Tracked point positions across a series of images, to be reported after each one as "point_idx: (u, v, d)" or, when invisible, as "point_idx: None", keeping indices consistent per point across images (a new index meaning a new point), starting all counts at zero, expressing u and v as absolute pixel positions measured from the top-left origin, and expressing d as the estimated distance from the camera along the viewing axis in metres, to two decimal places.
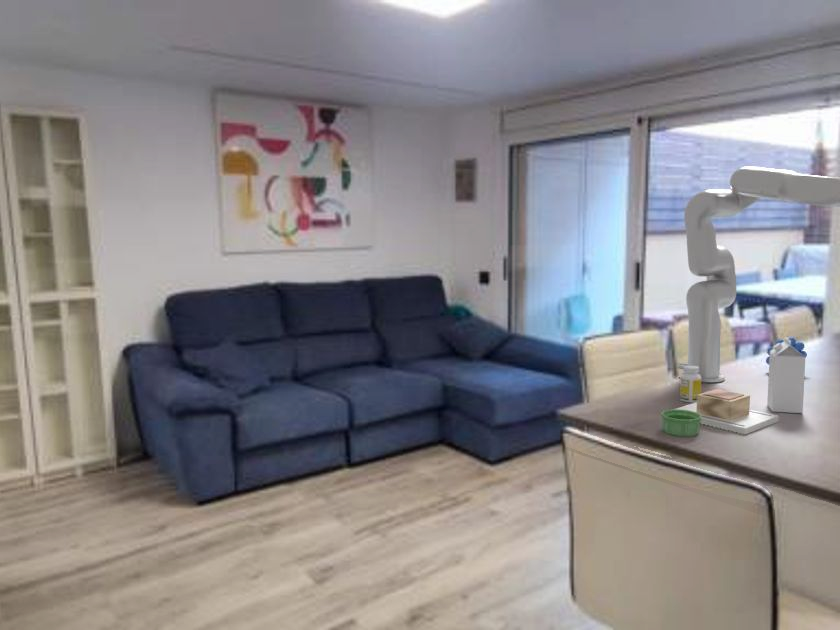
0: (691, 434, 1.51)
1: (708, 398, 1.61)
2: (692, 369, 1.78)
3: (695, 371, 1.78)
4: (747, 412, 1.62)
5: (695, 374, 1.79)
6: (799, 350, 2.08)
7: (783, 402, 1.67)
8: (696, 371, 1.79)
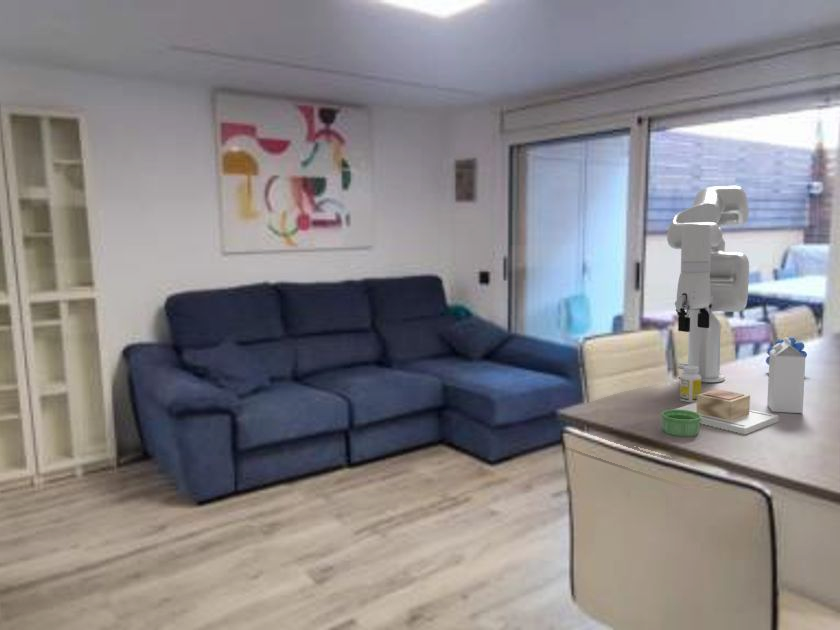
0: (691, 434, 1.51)
1: (708, 398, 1.61)
2: (692, 369, 1.78)
3: (695, 371, 1.78)
4: (747, 412, 1.62)
5: (695, 374, 1.79)
6: (799, 350, 2.08)
7: (783, 402, 1.67)
8: (696, 371, 1.79)
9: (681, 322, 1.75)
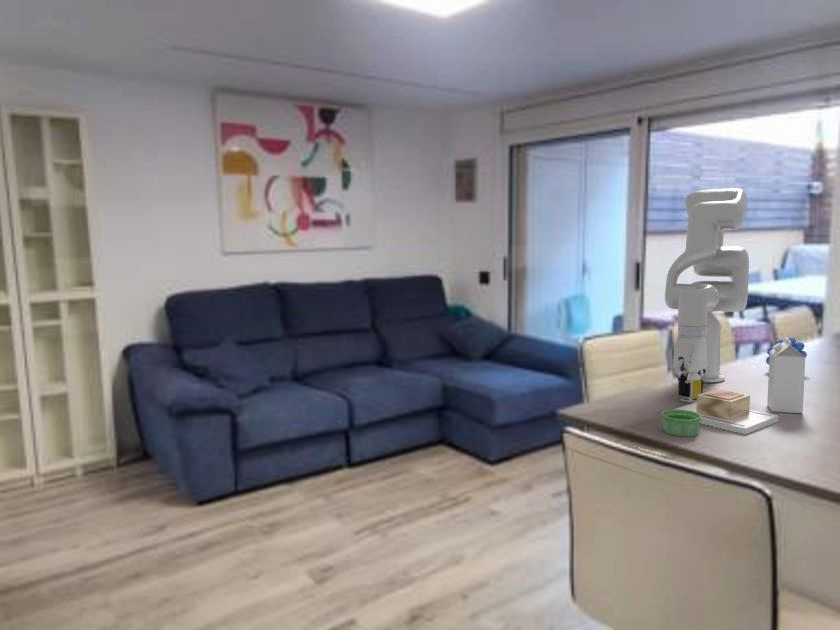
0: (691, 434, 1.51)
1: (708, 398, 1.61)
2: None
3: (695, 371, 1.78)
4: (747, 412, 1.62)
5: (695, 374, 1.79)
6: (799, 350, 2.08)
7: (783, 402, 1.67)
8: (696, 371, 1.79)
9: (681, 387, 1.79)
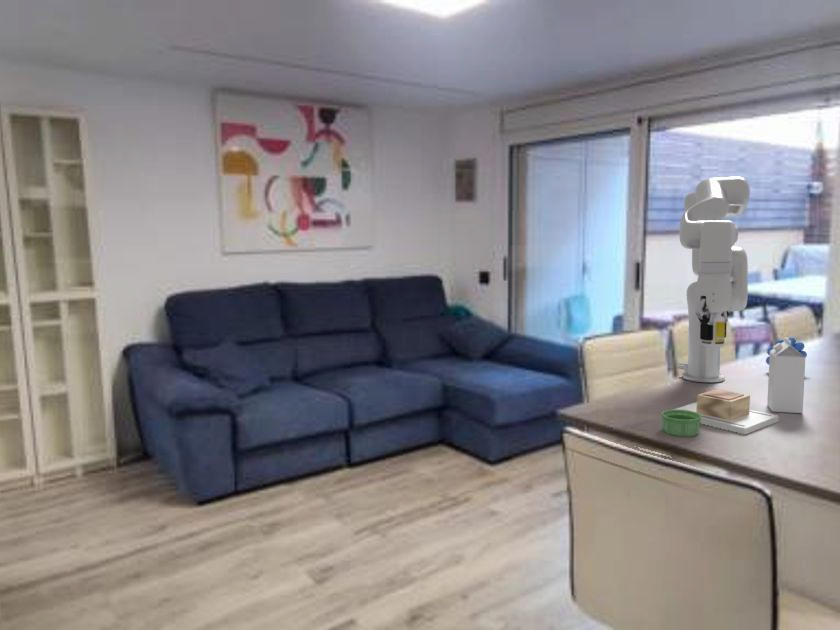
0: (691, 434, 1.51)
1: (708, 398, 1.61)
2: None
3: None
4: (747, 412, 1.62)
5: (718, 315, 1.64)
6: (799, 350, 2.08)
7: (783, 402, 1.67)
8: (719, 312, 1.64)
9: (703, 330, 1.64)
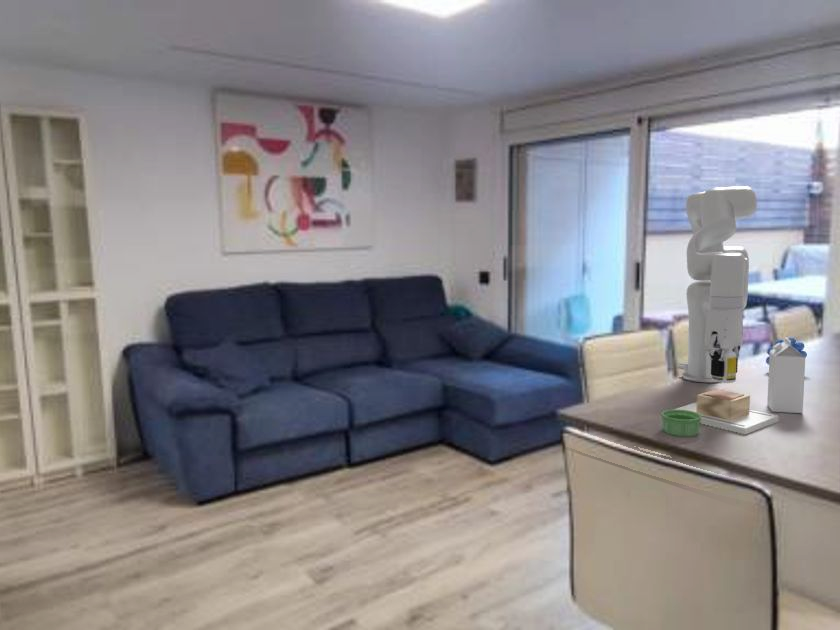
0: (691, 434, 1.51)
1: (708, 398, 1.61)
2: None
3: None
4: (747, 412, 1.62)
5: (730, 351, 1.60)
6: (799, 350, 2.08)
7: (783, 402, 1.67)
8: None
9: (714, 366, 1.60)
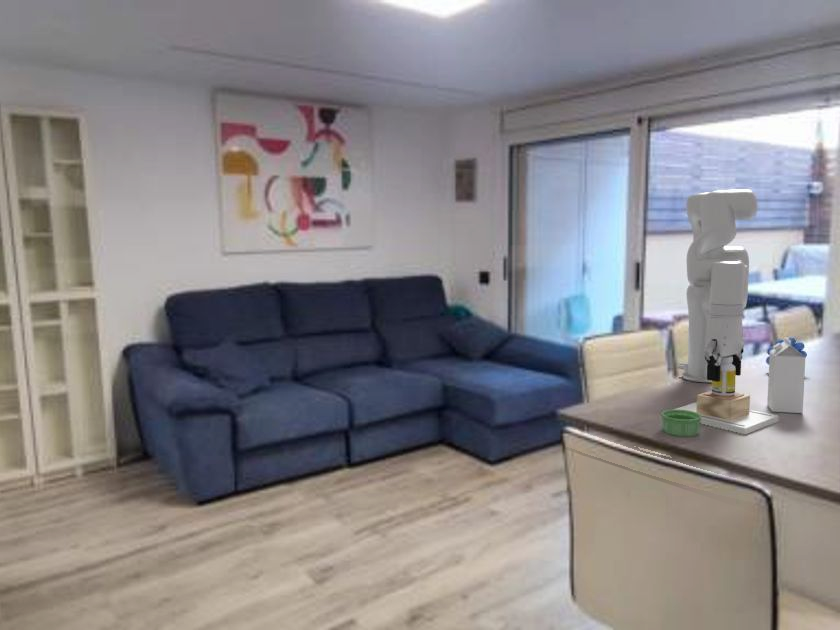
0: (691, 434, 1.51)
1: (708, 398, 1.61)
2: (726, 358, 1.60)
3: (729, 360, 1.60)
4: (747, 412, 1.62)
5: (729, 364, 1.60)
6: (799, 350, 2.08)
7: (783, 402, 1.67)
8: (730, 361, 1.60)
9: (710, 371, 1.59)
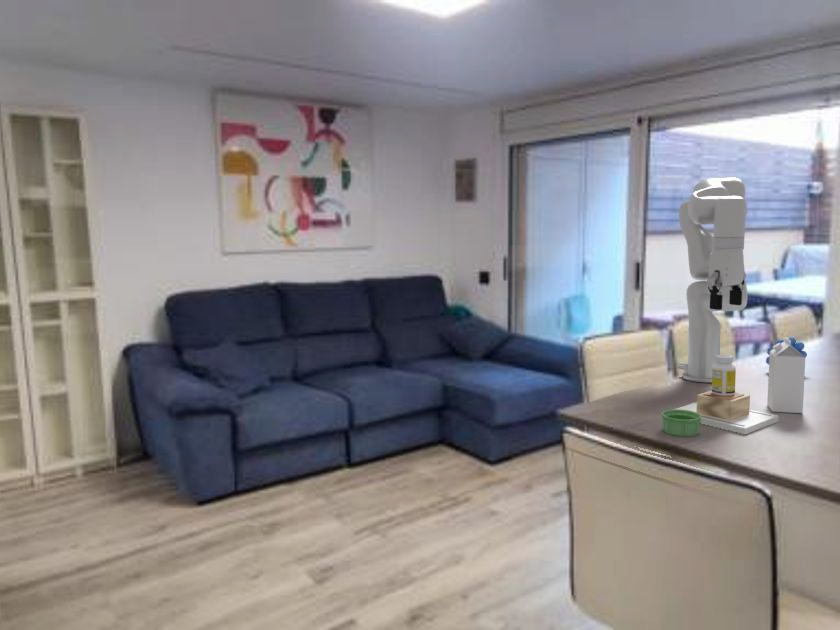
0: (691, 434, 1.51)
1: (708, 398, 1.61)
2: (726, 359, 1.60)
3: (729, 360, 1.60)
4: (747, 412, 1.62)
5: (729, 364, 1.60)
6: (799, 350, 2.08)
7: (783, 402, 1.67)
8: (730, 361, 1.60)
9: (713, 300, 1.70)
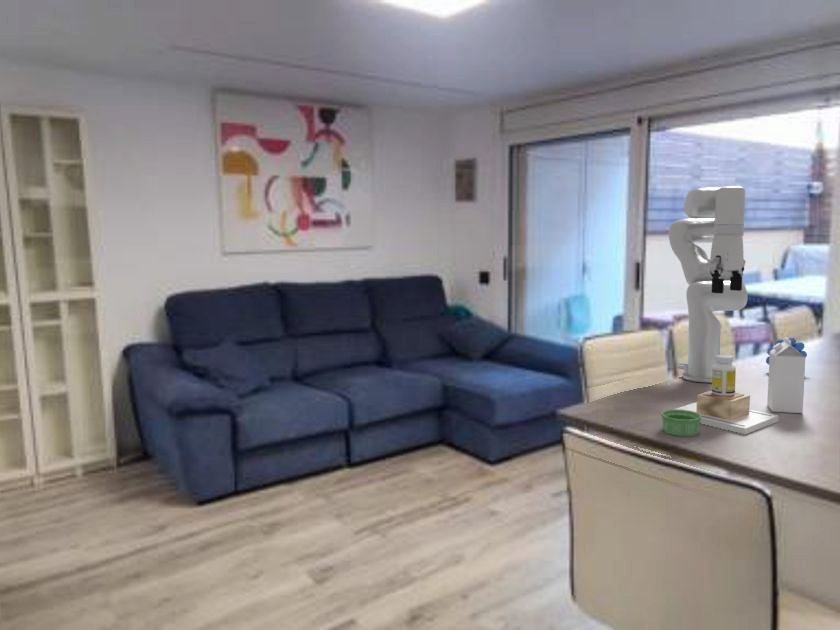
0: (691, 434, 1.51)
1: (708, 398, 1.61)
2: (726, 359, 1.60)
3: (729, 360, 1.60)
4: (747, 412, 1.62)
5: (729, 364, 1.60)
6: (799, 350, 2.08)
7: (783, 402, 1.67)
8: (730, 361, 1.60)
9: (715, 284, 1.79)
